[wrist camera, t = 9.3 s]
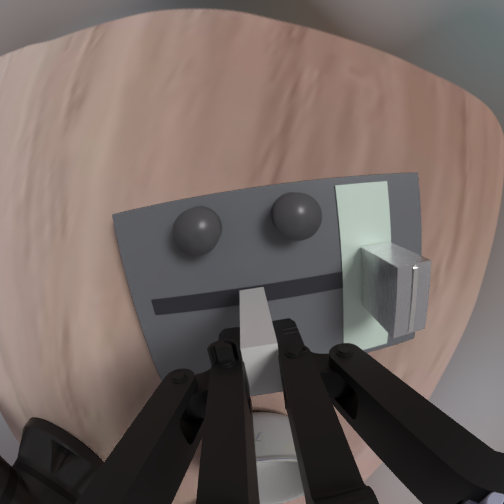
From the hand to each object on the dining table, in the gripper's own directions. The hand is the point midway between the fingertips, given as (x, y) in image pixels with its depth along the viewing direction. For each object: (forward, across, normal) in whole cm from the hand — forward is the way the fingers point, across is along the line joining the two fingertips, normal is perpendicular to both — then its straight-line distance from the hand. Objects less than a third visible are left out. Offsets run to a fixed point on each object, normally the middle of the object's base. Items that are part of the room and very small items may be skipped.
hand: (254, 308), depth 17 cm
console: (+4, +2, 0) cm, 4 cm away
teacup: (+4, -3, -18) cm, 18 cm away
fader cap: (+2, +9, 0) cm, 9 cm away
